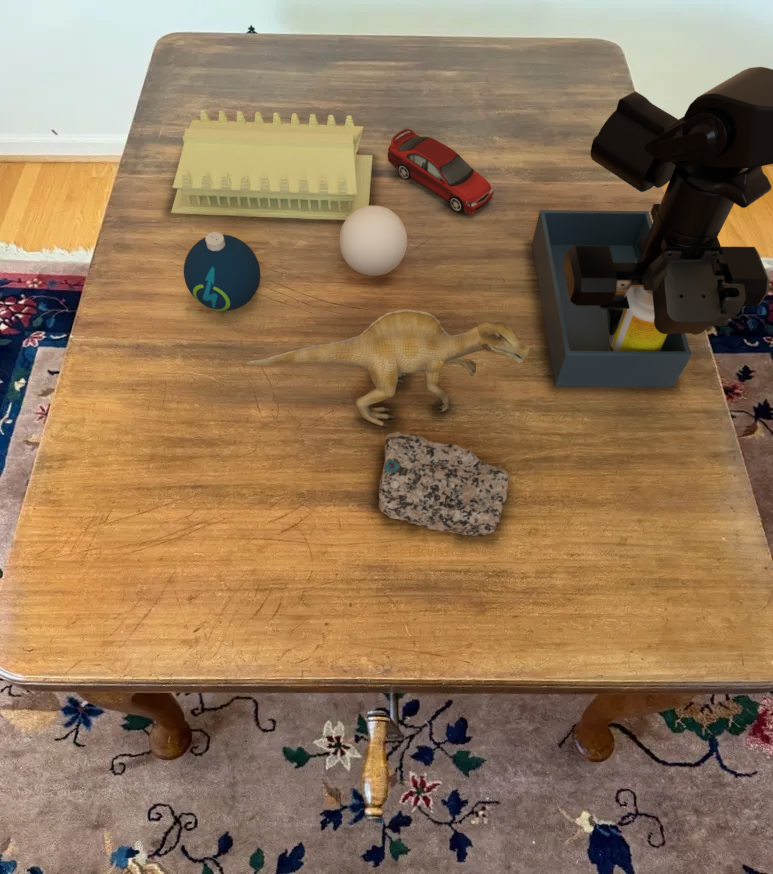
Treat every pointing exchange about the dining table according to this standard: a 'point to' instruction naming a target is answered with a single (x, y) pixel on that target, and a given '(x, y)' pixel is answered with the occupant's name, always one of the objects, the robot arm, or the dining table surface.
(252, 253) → the christmas ornament
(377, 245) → the ball
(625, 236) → the storage tote
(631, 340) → the supplement bottle
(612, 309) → the robot arm
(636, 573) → the dining table surface
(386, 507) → the rock
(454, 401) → the dining table surface
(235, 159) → the model building
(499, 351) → the dinosaur figurine
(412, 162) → the toy car
